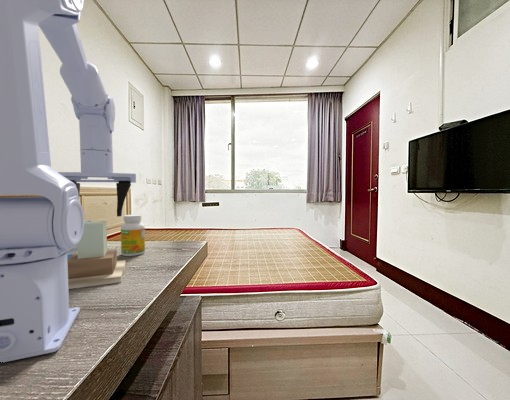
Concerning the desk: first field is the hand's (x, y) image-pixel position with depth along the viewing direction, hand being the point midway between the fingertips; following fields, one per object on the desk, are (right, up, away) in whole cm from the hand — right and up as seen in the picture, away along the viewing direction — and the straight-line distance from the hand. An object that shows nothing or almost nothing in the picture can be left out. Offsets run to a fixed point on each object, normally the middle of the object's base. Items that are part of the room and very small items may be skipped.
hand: (98, 216), depth 53 cm
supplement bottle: (+2, -10, +10) cm, 15 cm away
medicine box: (-10, -10, +5) cm, 15 cm away
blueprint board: (+3, -11, -6) cm, 13 cm away
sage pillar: (+3, -7, -6) cm, 9 cm away
